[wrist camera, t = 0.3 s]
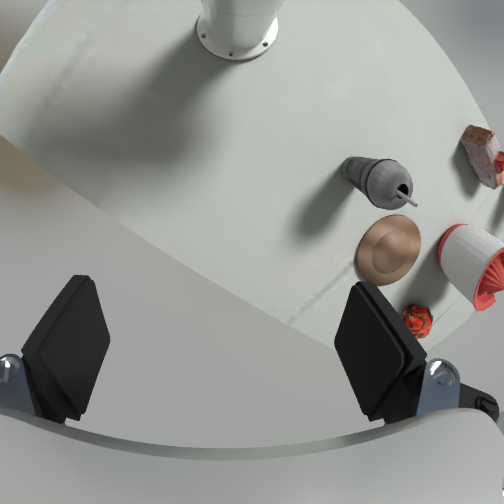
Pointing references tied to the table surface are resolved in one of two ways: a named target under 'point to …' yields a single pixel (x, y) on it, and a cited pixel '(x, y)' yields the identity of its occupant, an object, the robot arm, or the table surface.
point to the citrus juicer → (473, 263)
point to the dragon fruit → (418, 320)
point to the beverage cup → (380, 181)
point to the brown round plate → (388, 249)
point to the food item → (484, 155)
